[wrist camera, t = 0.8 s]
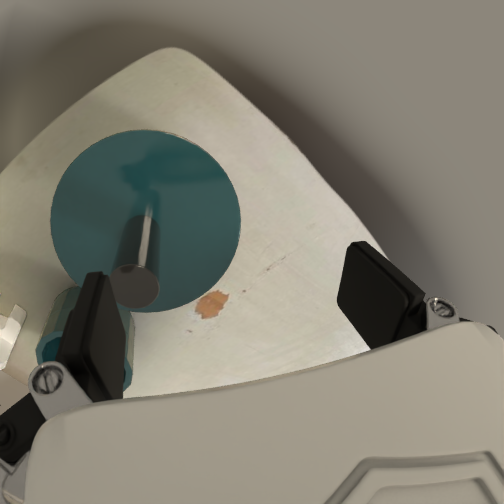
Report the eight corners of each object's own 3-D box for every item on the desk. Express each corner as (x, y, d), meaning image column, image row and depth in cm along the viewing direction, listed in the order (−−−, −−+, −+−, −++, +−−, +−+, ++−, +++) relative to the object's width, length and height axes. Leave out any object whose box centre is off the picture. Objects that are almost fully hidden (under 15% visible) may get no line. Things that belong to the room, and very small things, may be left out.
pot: (36, 308, 30) (18, 351, 24) (97, 270, 31) (83, 314, 24) (90, 362, 36) (84, 406, 30) (151, 334, 37) (152, 381, 30)
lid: (21, 198, 14) (-30, 243, 9) (188, 91, 15) (197, 82, 9) (121, 331, 21) (115, 398, 16) (266, 260, 21) (301, 318, 16)
